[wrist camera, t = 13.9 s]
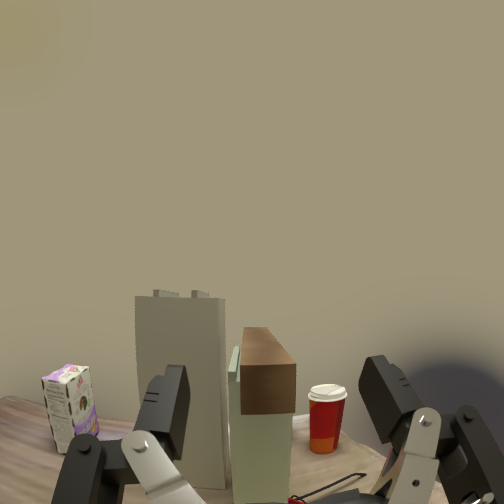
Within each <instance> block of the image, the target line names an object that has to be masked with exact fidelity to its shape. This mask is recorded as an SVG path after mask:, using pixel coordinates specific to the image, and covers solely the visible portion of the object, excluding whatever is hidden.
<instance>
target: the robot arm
mask: <svg viewBox="0 0 504 504" xmlns="http://www.w3.org/2000/svg"><path fill="white" fill-rule="evenodd" d="M359 391H360V394H361V396H362V399H363V401H364V403H365V405H366V408H367V410H368V412H369V414H370V417H371V419H372V422H373V424H374V426H375V429H376V431H377V433H378V436H379V438H380V440H381V443H382V444H384V443H388V442H391V443H392V447H391V449H390V451H389V454H388V456H387V459H386V462H385V464H384V467H383V469H382V471H381V474H380V476H379V478H378V480H377V482H376V484H375V485H374V487H373V488H372V490H371V491H370V493H369V494H365V493H359V490H358V488H356V489H353V490H348V491H344V492H340V493H335V494H331V495H329V496H327V497H324V498H322V499H319V500H317V501H314V502H312V503H309V504H428V502H429V499H430V496H431V493H432V489H433V486H434V482H435V478H436V474H437V473H438V475H439V478H440V480H441V483H442V486H443V488H444V491H445V494H446V497H447V499H448V502H449V504H504V456H503V454H502V452H501V450H500V449H499V447H498V445H497V443H496V442H495V440H494V438H493V436H492V434H491V433H490V431H489V429H488V427H487V426H486V424H485V422H484V421H483V419H482V418H481V416H480V414H479V413H478V411H477V410H476V409H475V408H473V407H472V406H468V405H464V406H461V407H460V408H458V410H457V411H456V412H455V414H447V415H439V414H438V412H437V411H435V410H434V409H431V408H425V407H424V405H423V404H422V402H421V401H420V399H419V397H418V396H417V394H416V392H415V391H414V389H413V388H412V386H411V385H410V383H409V381H408V380H407V379H406V377H405V375H404V374H403V372H402V370H400V369H399V368H398V367H397V366H395V365H394V364H389V362H388V361H387V359H386V358H385V356H384V355H379V356H372V357H368V358H367V359H366V361H365V364H364V367H363V370H362V373H361V376H360V379H359ZM190 398H191V393H190V385H189V381H188V376H187V370H186V366H185V365H171V364H168V365H167V367H166V371H165V374H164V376H163V375H156V376H155V377H154V378H153V379H152V380H151V381H150V382H149V384H148V387H147V390H146V394H145V396H144V399H143V402H142V405H141V408H140V411H139V414H138V418H137V421H136V424H135V427H134V429H133V431H132V432H130V433H128V434H127V435H126V436H125V437H124V438H123V439H120V440H109V441H99V440H98V438H97V437H95V436H94V435H92V434H88V433H82V434H78V435H76V436H75V437H74V438H73V439H72V440H71V442H70V444H69V447H68V450H67V453H66V456H65V459H64V462H63V465H62V468H61V471H60V474H59V477H58V481H57V484H56V488H55V491H54V495H53V499H52V502H51V504H122V499H123V493H124V486H125V485H126V484H141V485H142V487H143V488H144V490H145V492H146V495H147V497H148V499H149V501H150V502H151V504H206V503H205V502H204V501H203V500H202V499H201V497H200V496H199V495H198V494H197V493H196V491H195V490H194V489H193V488H192V487H191V485H190V484H189V483H188V482H187V480H186V479H185V478H183V477H182V475H181V474H180V473H179V472H178V470H177V469H176V467H175V466H174V465H173V462H174V460H179V461H181V458H182V451H183V444H184V438H185V431H186V424H187V418H188V412H189V406H190ZM460 445H461V447H462V449H463V451H464V453H465V455H466V457H467V460H468V464H466V462H465V459H464V457H463V455H462V453H461V451H460V449H459V446H460ZM246 504H288V503H278V502H269V503H246Z"/></svg>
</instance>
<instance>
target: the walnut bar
mask: <svg viewBox="0 0 504 504" xmlns="http://www.w3.org/2000/svg"><path fill="white" fill-rule="evenodd" d="M295 398H296V363H295V361H294V360H293V359H292V358H291V357H290V355H289V354H288V353H287V352H286V351H285V350H284V348H283V347H282V346H281V344H280V343H279V342H278V341H277V340H276V338H275V337H274V336H273V335H272V333H271V332H270V331H269V330H268V329H267V327H255V328H254V327H248V328H244V330H243V340H242V349H241V359H240V404H241V415H267V414H287V413H295V401H296V399H295Z"/></svg>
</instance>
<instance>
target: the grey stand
mask: <svg viewBox="0 0 504 504" xmlns="http://www.w3.org/2000/svg"><path fill="white" fill-rule="evenodd" d="M153 291H154V293H153V294H154V295H153V297H147V296H135V336H136V337H135V338H136V361H137V376H138V387H139V398H140V407H141V405H142V402H143V399H144V396H145V394H146V390H147V387H148V384H149V382H150V381H151V380H152V379H153V378H154V377H155V376H156V375H163V376H164V374H165V371H166V367H167V365H168V364H171V365H185V366H186V370H187V376H188V381H189V385H190V393H191V398H190V406H189V412H188V418H187V424H186V431H185V438H184V444H183V451H182V458H181V461H179V460H174V462H173V465H174V466H175V467H176V469H177V470H178V472H179V473H180V474H181V475H182V477H183V478H185V479H186V480H187V482H188V483H189V484H190V485H191V487H195V488H207V489H224V490H225V488H226V479H227V470H228V461H229V443H228V420H227V389H226V349H225V347H226V345H225V299H221V298H209V293H205V292H201V291H196V290H192V295H191V298H179V293H175V292H170V291H164V290H153Z"/></svg>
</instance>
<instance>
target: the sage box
mask: <svg viewBox="0 0 504 504" xmlns="http://www.w3.org/2000/svg"><path fill="white" fill-rule="evenodd" d="M239 351H240V347H239V346H235V347H234V351H233V354H232V359H231V362H230V366H229V370H228V389H229V423H230V447H231V467H232V485H233V501H234V504H246V503H269V502H278V503H288V490H289V476H290V460H291V441H292V417H293V413H287V414H267V415H241V404H240V359H241V353H240V352H239Z"/></svg>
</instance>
